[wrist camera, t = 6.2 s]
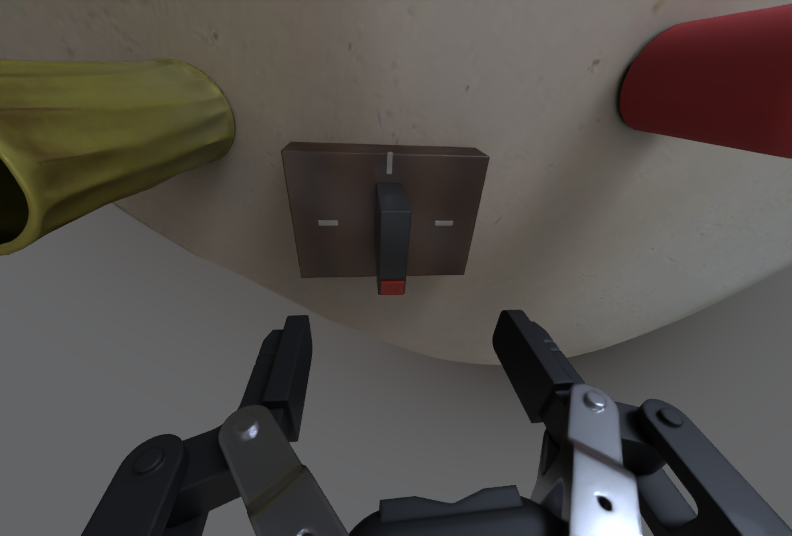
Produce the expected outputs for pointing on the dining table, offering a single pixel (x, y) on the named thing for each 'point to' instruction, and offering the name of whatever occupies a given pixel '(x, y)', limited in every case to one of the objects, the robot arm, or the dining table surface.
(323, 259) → the panel
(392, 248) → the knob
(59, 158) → the vase
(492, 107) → the dining table surface
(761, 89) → the beer can
